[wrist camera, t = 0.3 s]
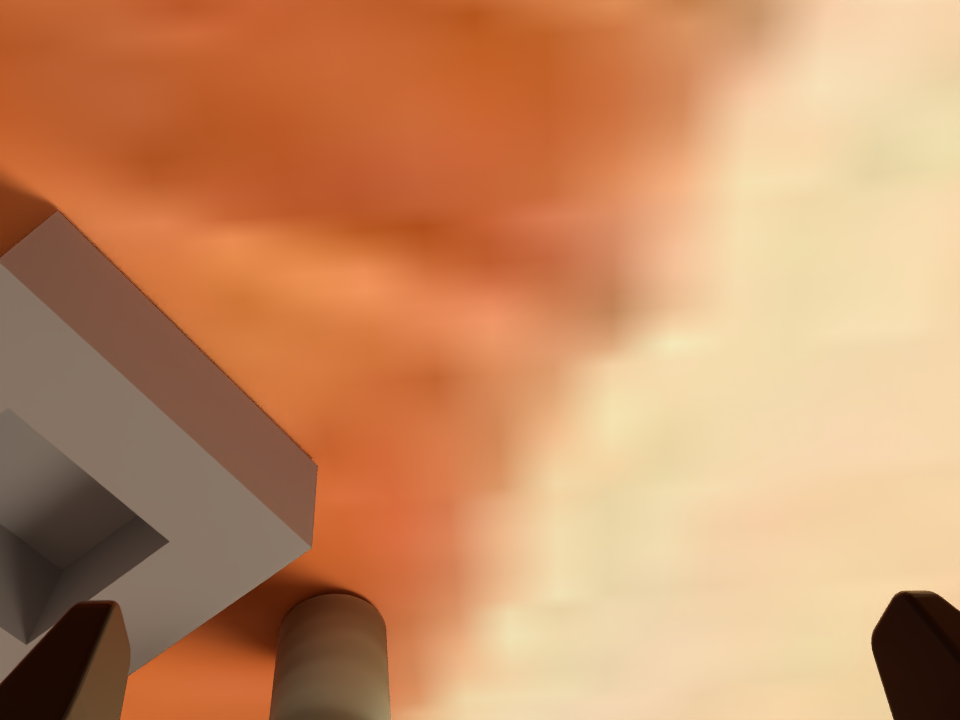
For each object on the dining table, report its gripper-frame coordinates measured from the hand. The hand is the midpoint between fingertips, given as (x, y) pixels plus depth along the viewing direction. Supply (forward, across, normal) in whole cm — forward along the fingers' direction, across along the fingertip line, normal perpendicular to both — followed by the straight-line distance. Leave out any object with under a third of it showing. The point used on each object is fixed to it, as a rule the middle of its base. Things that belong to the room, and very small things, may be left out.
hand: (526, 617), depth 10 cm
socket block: (+13, +10, +9) cm, 19 cm away
